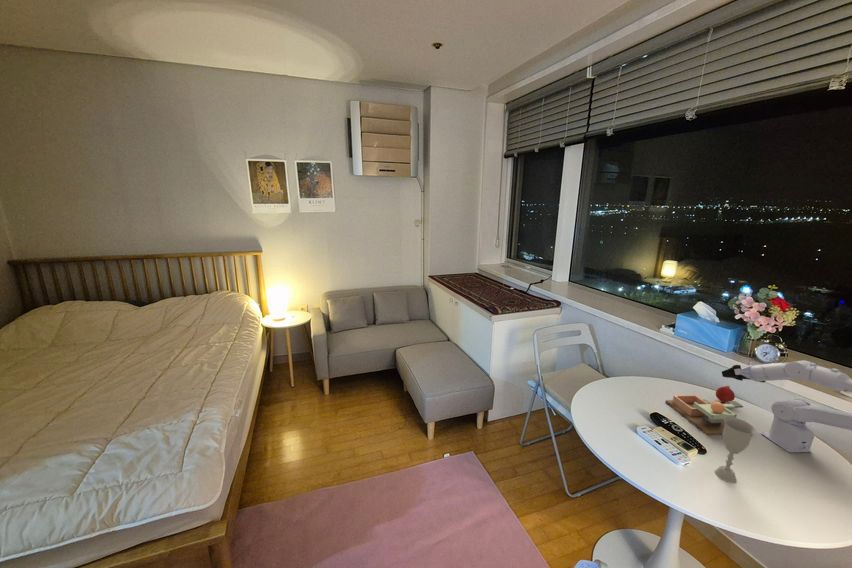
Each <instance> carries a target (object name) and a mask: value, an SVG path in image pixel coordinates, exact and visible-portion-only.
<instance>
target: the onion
mask: <svg viewBox="0 0 852 568" xmlns="http://www.w3.org/2000/svg"><path fill="white" fill-rule="evenodd" d="M715 396H716V398H717V399H718V400H719V402H720V403H722V404H728V403H727V401H735V398H736V396H735V392H734V391H733V390H732V389H731V386H730V385H725V386H720V387H717V389H716V391H715Z"/></svg>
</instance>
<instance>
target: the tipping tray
mask: <svg viewBox="0 0 852 568" xmlns="http://www.w3.org/2000/svg"><path fill="white" fill-rule="evenodd" d="M711 404H712V403H711ZM711 404H698V403H696V402H694V405H693V406H694V407H695V408H697V409H698V410H700V411H701V412H702V413H704V414H705V415H706V416H708V421H710V422H711V423H721V422H724V418H726V417H733V418H737V416H738V415H737V414H736V413H735V412H733V411H732V410H730V409H735V408H744V405H743V404H741V403H739V402H737V401H735V400H733V401H727V403H722V404H723V405H724V406H725V411H724V412H723V413H715V412H714V411H713V410H712V409H711Z"/></svg>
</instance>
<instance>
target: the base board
mask: <svg viewBox="0 0 852 568" xmlns="http://www.w3.org/2000/svg"><path fill="white" fill-rule="evenodd" d="M702 400H703V401H704V402H706V403H707V404H712V402H710V401H709V400H707V399H706V398H704V399H702ZM665 404H667V405H668V406H669V407H671V408H672V409H673V410H675V411H676V412H677V413H679V414H680V416H682V417H683V418H685V419H686V420H687V421H688V422H690V423H691V424H692V425H694V426H695V427H696V428H698V430H700V431H701V432H703V434H705V435H706V436H711V435H715V436H716V435H717V436H719V435H722V436H723V430H724V426H725V422H721V423H711V422H710V421H708V416H706V415H705V414H703V416H689V415H688V414H687V413H686V412H684V411H683V410H682V409H680V408H679V407H678V406H676V405H675V404H674V403H673V399H665ZM686 404H687V405H689V406H690V407H691V408H695V407H694V406H693V405H694V403H686Z"/></svg>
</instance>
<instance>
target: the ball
mask: <svg viewBox="0 0 852 568" xmlns="http://www.w3.org/2000/svg"><path fill="white" fill-rule="evenodd" d="M723 404H724V403H723V402H721V401H713V402H711V409H712V410H713V411H714V412H715V413H723V412H724V411H725V406H724V405H723Z"/></svg>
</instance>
